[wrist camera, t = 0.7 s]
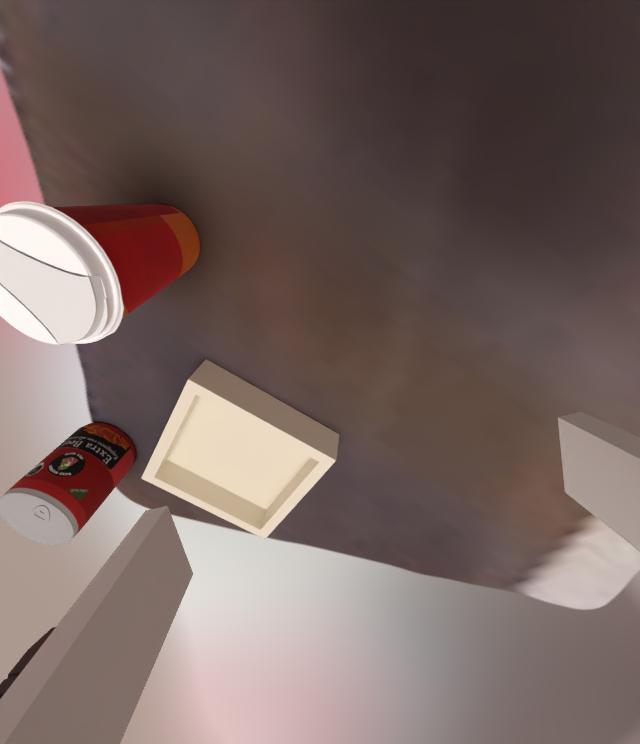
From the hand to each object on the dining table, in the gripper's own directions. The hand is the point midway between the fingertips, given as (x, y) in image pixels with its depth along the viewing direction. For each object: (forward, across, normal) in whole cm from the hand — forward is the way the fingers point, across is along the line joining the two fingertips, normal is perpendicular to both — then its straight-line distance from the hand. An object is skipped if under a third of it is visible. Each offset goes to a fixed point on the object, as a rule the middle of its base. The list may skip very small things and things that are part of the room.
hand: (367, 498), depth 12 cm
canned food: (+31, -29, -5) cm, 43 cm away
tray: (+28, -12, -8) cm, 31 cm away
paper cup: (+22, -11, +14) cm, 28 cm away
